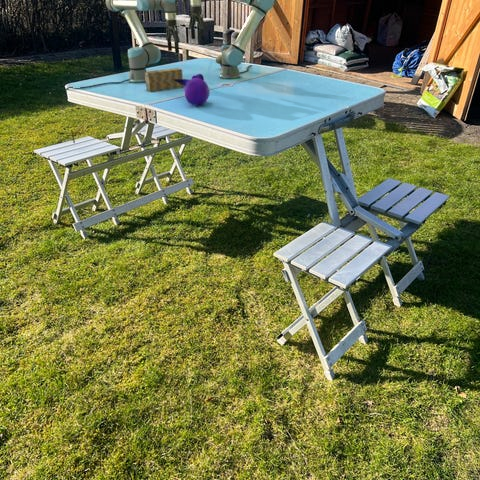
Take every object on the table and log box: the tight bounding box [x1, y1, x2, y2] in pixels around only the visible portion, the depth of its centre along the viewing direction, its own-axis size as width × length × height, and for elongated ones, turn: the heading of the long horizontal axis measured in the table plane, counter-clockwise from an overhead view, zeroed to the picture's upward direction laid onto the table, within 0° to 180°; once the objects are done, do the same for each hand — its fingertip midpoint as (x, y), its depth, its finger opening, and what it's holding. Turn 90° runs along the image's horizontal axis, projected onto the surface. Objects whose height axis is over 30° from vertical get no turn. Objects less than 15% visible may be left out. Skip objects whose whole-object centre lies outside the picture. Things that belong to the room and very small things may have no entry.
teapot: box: [215, 55, 222, 68], centre depth 374 cm, size 21×12×15 cm, turn 120°
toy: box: [174, 73, 210, 107], centre depth 272 cm, size 16×18×27 cm
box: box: [145, 67, 184, 93], centre depth 312 cm, size 25×7×12 cm, turn 122°
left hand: (173, 52), depth 324 cm, fingers open, 13 cm apart
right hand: (197, 39), depth 316 cm, fingers open, 13 cm apart
